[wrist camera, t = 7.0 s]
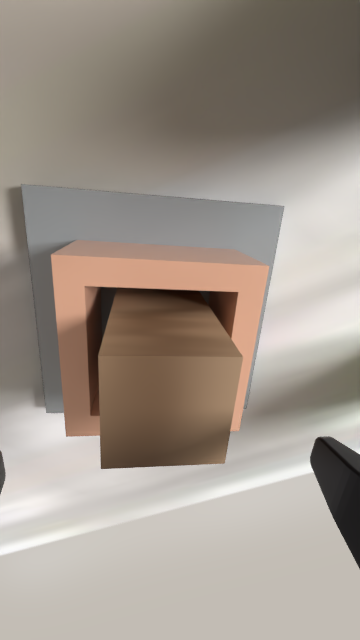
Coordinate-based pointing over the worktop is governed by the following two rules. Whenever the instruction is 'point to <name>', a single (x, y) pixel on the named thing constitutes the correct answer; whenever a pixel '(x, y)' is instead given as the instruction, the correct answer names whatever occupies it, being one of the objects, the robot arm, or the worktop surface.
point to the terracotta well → (138, 277)
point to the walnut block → (165, 381)
